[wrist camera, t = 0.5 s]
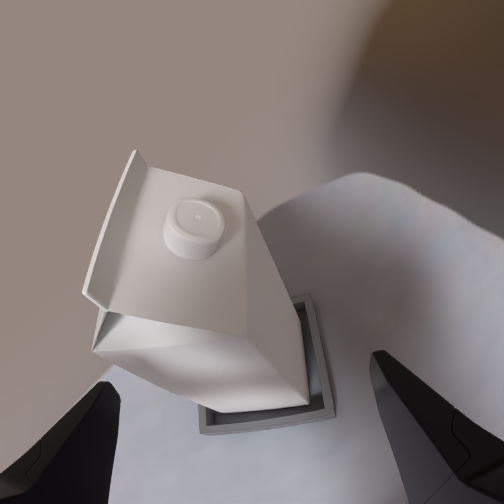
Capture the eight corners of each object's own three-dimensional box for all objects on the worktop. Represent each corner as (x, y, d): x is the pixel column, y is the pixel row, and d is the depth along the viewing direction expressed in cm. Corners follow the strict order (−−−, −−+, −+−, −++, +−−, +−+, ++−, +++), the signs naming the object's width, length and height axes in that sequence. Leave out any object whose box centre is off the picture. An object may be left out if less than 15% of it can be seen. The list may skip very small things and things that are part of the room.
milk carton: (222, 413, 23) (20, 306, 9) (222, 336, 27) (77, 175, 13) (310, 405, 21) (193, 269, 7) (301, 323, 26) (211, 120, 12)
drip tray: (335, 416, 20) (334, 414, 19) (207, 435, 22) (199, 433, 21) (312, 301, 27) (309, 293, 26) (203, 326, 29) (196, 319, 27)
